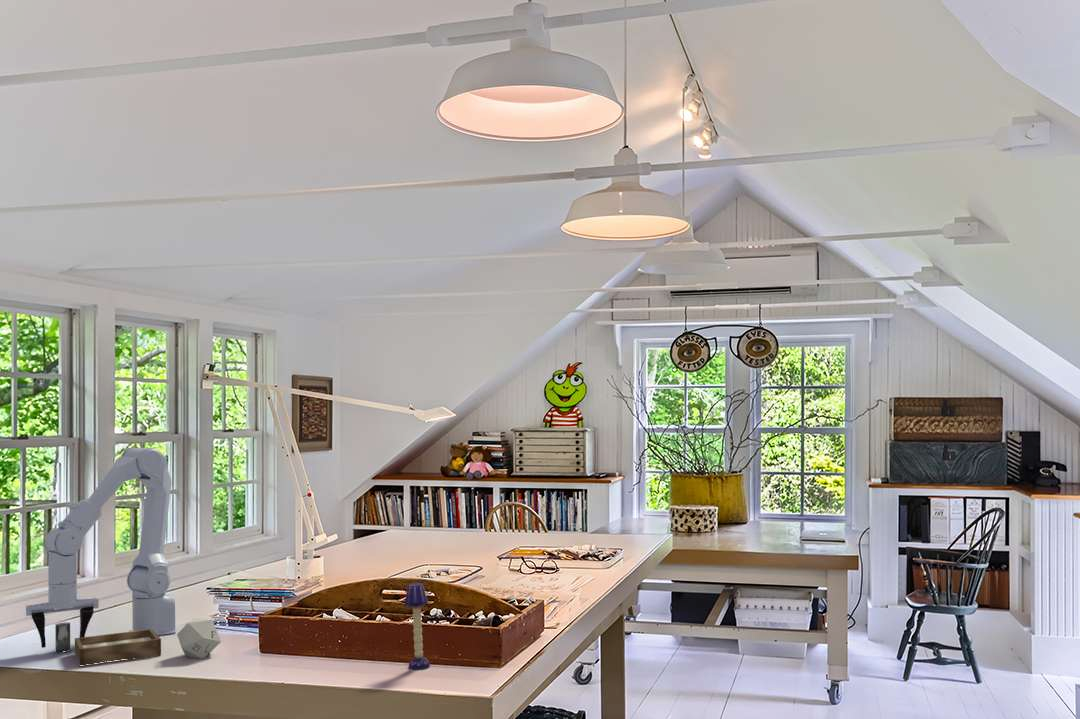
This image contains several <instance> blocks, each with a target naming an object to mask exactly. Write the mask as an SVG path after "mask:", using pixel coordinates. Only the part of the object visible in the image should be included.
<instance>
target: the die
mask: <svg viewBox="0 0 1080 719" xmlns="http://www.w3.org/2000/svg"><path fill="white" fill-rule="evenodd" d="M176 635H177V638H178V642H179V644H180V648H181V650H182V652H183V654H184V656H185V657H187V656H189V657H188V658H193V657H196V658H195V659H199V658H203V659H205V657H207V656H208V655H209V654H210V653H212V652H213V650H214V649H215V648H216V647H217V646H219V645H220V644H221V642H222V641H221V638H220V636H219V632H218V631H217V628H216V626H215V623H214V620H213V619H211V618H210V619H208V618H202V617H195V618H193V619H192V620H190V621H189V622H187V623H186V625H184V627H182V629H180V630H179V632H178V633H176ZM206 655H207V656H206Z"/></svg>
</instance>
